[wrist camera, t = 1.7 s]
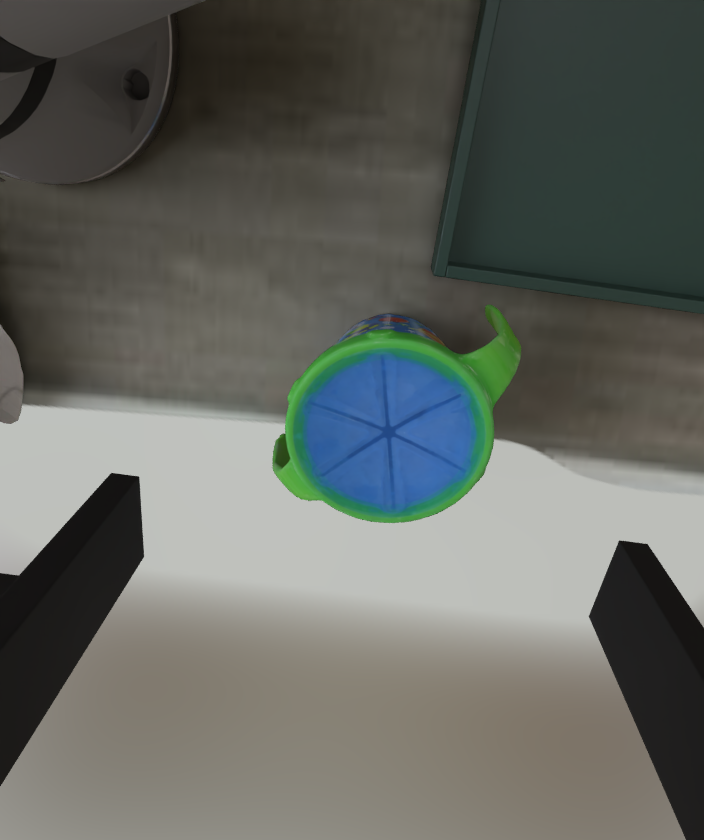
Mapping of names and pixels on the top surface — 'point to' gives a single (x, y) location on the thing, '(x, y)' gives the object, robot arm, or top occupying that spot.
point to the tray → (581, 152)
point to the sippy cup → (394, 419)
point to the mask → (10, 380)
